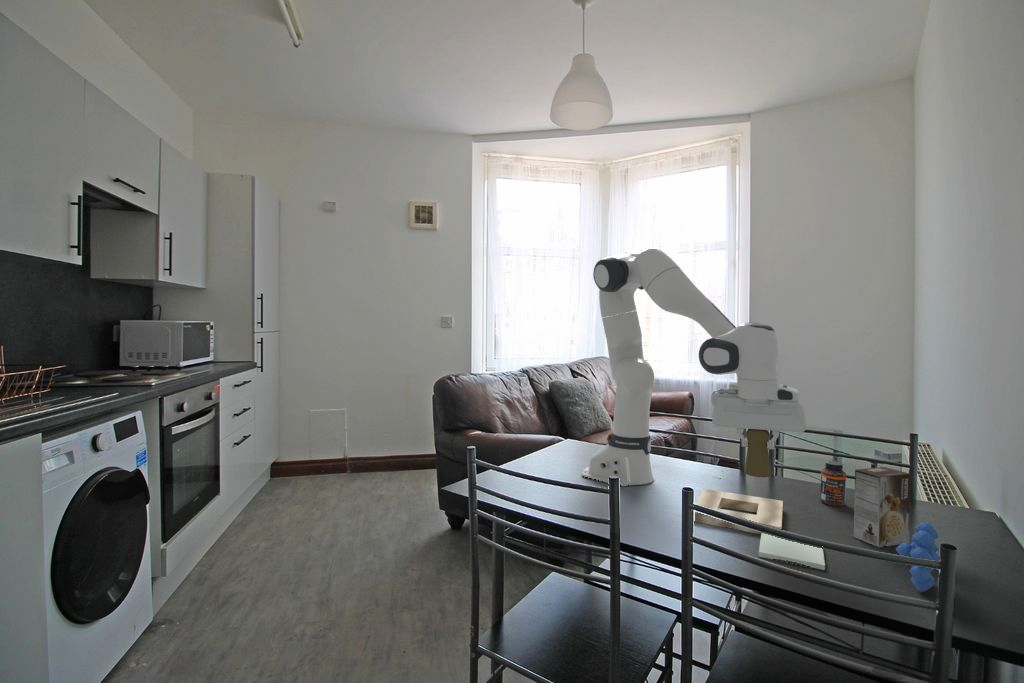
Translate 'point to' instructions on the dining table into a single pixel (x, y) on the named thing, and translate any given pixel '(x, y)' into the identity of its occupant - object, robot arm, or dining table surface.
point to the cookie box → (882, 506)
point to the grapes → (921, 554)
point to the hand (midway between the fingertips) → (757, 447)
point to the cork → (757, 454)
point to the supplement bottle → (833, 484)
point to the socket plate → (765, 509)
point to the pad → (791, 551)
